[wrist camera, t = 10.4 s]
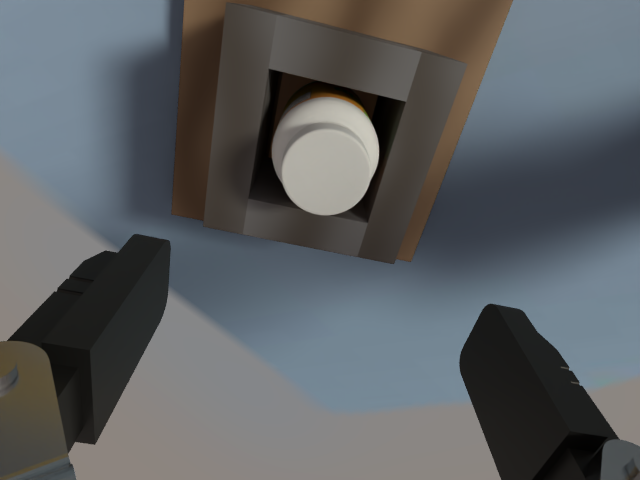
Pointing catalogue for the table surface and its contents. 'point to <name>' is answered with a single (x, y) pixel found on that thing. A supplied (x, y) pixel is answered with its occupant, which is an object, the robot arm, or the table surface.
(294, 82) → the press seat
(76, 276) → the robot arm
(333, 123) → the supplement bottle
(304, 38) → the collar block
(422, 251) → the table surface
